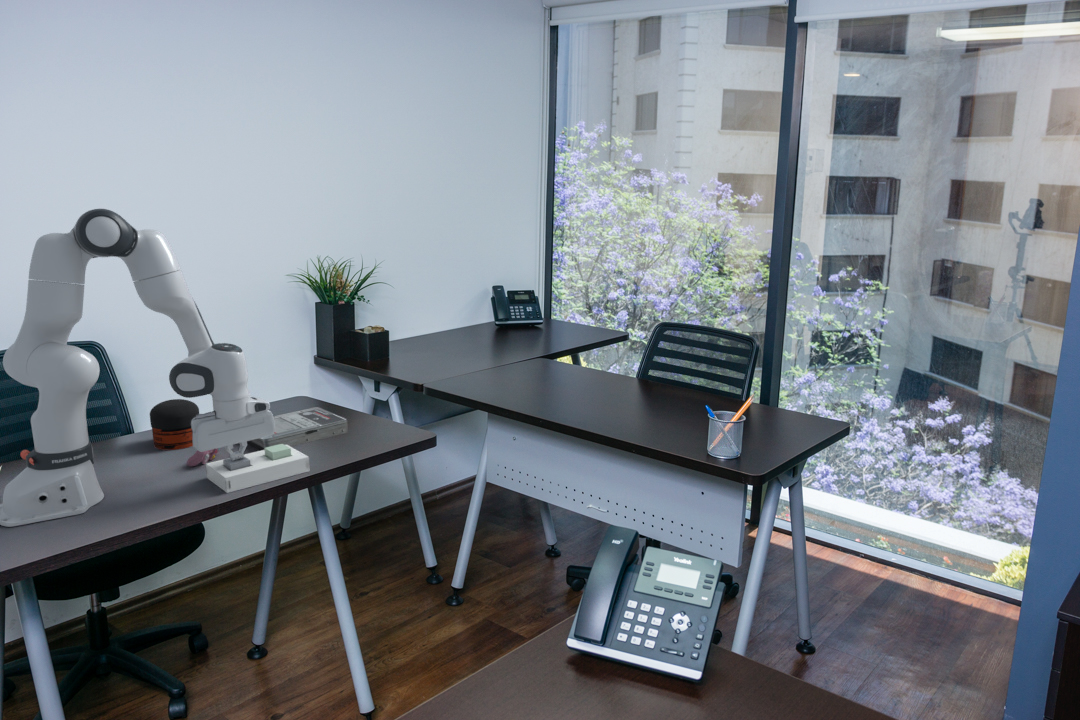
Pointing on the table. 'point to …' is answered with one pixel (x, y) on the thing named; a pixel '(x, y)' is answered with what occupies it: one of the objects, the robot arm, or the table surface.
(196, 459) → the video game controller
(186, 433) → the oil filter
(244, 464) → the grey key
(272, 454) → the sage key
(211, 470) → the key panel
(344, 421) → the hard drive
